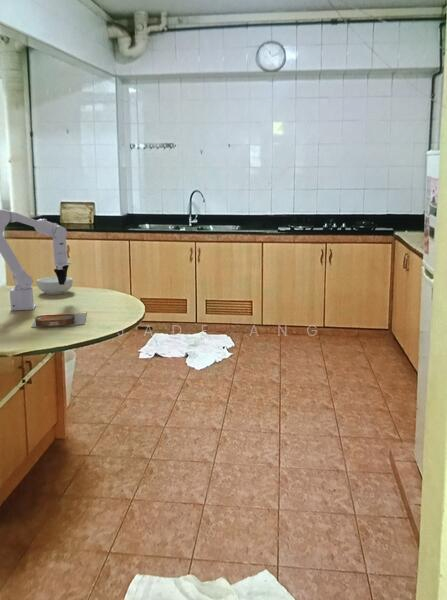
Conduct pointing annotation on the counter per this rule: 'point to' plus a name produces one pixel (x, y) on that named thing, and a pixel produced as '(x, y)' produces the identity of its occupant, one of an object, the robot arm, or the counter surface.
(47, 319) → the tin
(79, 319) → the mat
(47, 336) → the counter surface
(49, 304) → the counter surface
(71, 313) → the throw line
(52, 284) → the cereal bowl
